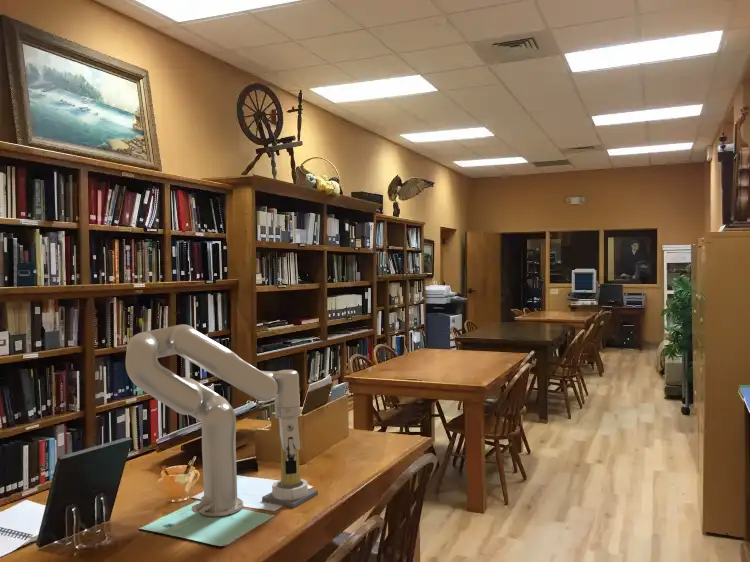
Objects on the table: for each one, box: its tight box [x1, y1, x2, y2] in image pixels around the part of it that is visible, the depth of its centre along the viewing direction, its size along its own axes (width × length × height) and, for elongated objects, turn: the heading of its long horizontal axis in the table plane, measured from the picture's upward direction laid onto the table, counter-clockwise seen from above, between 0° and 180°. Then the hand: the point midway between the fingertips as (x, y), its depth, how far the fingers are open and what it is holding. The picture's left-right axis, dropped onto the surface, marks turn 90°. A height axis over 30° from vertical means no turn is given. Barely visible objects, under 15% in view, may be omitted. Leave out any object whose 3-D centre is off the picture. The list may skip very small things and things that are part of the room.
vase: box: [279, 435, 302, 485], centre depth 189 cm, size 6×6×14 cm
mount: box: [261, 478, 319, 509], centre depth 190 cm, size 12×12×4 cm
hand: (289, 469), depth 190 cm, fingers closed on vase, 5 cm apart
